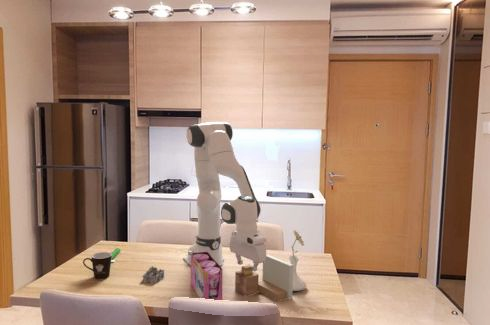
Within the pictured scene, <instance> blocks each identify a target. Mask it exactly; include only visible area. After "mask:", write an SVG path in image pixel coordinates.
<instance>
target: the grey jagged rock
mask: <svg viewBox="0 0 490 325" xmlns="http://www.w3.org/2000/svg"><path fill="white" fill-rule="evenodd" d="M165 271H166V269H161V268H159V270H158V268H157V267H156V266H155V267H154V265H151V266H150V267H149V268H148V270H146V272H145V273H143V275H142V276H141V278H142V281H143V283H147V282H148V283H150V284H155V283H156V284H157V283H158V281H159V280H162V278H163V277H165Z"/></svg>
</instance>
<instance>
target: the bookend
mask: <svg viewBox="0 0 490 325" xmlns="http://www.w3.org/2000/svg"><path fill="white" fill-rule="evenodd" d="M292 289H293V264H291V262H287V261H285V260H283V259H280V258H278V257H276V256H272V255H270V254H269V253H268V254H267V253H266V260H265V262H262V278H261V280H260V281H259V280H258V293H261V294H263V295H264V296H267V297H269V298H271V299H272V300H274V301H276V302H277V303H278V302H281V301H284V300H290V299H292V298H293V291H292Z"/></svg>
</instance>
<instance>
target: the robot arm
mask: <svg viewBox="0 0 490 325" xmlns="http://www.w3.org/2000/svg"><path fill="white" fill-rule="evenodd" d="M233 134H234V132H233V129H232V126H231V125H230V123H228V122H225V121H220V122H219V121H216V122H215V121H211V122H210V121H209V122H204V123H199V124H192V125H189V126H188V128H187V129H186V139H187V143H188V145H190V146H191V147H193V149H194V154H193V155H194V165H195V166H194V168H195V177H196V181H197V185H198V195H197V197H196V209H197V210H196V211H197V223H198V224H197V235H195V239H196V240H195V243H193V244H192V245H189V247H188V249H187V250H188V251H187V254H186V255H184V256H183V257H182V258H183V261H185V262H186V263H187V264H188V265H190V267H191V253H199V252H208V253H209V254H210V255H211V257H212V258H213V259H214V260H215V261H216V262H217V263H218V264H219V265H220V266H221V267H222V265H224V264H223V262H224V261H225V258H224V257H223V246H222V244H221V242H222V237H221V219H222V220H223V222H225V223H226V224H227V225H235V226H236V228H235V230H233V231H232V232H231V236H230V240H229V251H230V252H231V253H233V254H235V258H236V260H237V262H236V263H237V265H239V266H241V265H243V264H244V263H243V262H244V260H243V258H245V259H247V260H250V261H252V263H253V265H251V266H252V271H253V272H257V271H258V266H259V265H260V264H263V262H265V260H266V254H267V246H266V242H267V239H266V236H264V235H263V234H262V233H261V232H260V231H259V230H258V225H257V222H258V218H259V217H260V214H261V205H260V203H259V201H258V199H257V198H256V196H255V193H254V190H253V187H252V186H251V183H250V180H249V177H248V174H247V172H246V169H245V168H244V167H243V166H242V165H241V164H240V163H239V161H238V160H237V158H236V155H235V153H234V147H233V145H232V140H233V136H234V135H233ZM219 175H221V176H224V177H226V178H229V179H232V180H233V181H234V182H235V183H236V185H237V187H238V190H239V192H240V195H239V196H237V198H236V199H234V200H231V201H228V202H224V203H223V205H222V206H221V199H222V191H221V189H222V188H221V182H220V176H219Z"/></svg>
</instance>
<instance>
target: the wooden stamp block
mask: <svg viewBox="0 0 490 325" xmlns="http://www.w3.org/2000/svg"><path fill="white" fill-rule="evenodd" d="M252 266H253V265H251V264H245V265H242V266H241V269H240V270H237V271H235V273H234V274H235V275H234V276H235V277H234V278H235V279H234V281H235V282H234V283H235V284H234V290H235V291H237V292H238V293H240V294H241V295H243V294H244V296H245V295H246V296H245V297H249V296H252V295H255V294H258V293H259V291H258V282H259V278H260V277H259V275H260V274H259V273H257V272H255V271H252Z"/></svg>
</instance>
